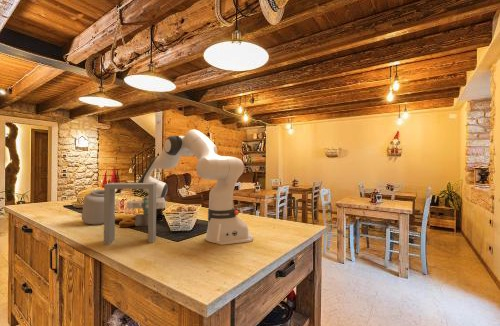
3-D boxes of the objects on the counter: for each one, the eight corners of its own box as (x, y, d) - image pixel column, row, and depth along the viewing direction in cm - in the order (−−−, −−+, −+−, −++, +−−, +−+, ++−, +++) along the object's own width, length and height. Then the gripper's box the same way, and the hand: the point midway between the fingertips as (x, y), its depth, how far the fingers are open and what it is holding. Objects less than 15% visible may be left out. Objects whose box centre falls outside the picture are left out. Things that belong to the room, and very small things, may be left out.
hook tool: (155, 197, 143) (154, 197, 140) (155, 224, 143) (154, 225, 140) (136, 197, 141) (135, 198, 139) (136, 224, 141) (135, 226, 139)
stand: (155, 238, 118) (156, 182, 117) (152, 242, 111) (153, 184, 111) (109, 239, 114) (110, 182, 114) (103, 244, 107) (104, 184, 107)
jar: (121, 222, 146) (122, 179, 146) (96, 228, 133) (96, 181, 132) (101, 218, 154) (101, 178, 154) (75, 224, 141) (76, 179, 141)
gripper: (131, 197, 148) (123, 201, 135) (167, 197, 152) (163, 200, 138) (130, 208, 148) (123, 212, 134) (166, 207, 152) (162, 211, 138)
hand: (143, 206), depth 136 cm, fingers closed
